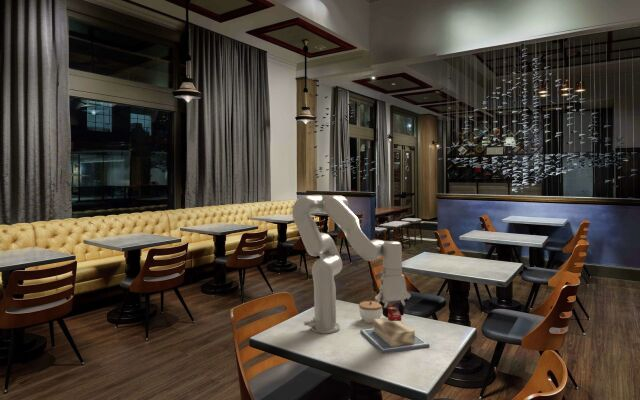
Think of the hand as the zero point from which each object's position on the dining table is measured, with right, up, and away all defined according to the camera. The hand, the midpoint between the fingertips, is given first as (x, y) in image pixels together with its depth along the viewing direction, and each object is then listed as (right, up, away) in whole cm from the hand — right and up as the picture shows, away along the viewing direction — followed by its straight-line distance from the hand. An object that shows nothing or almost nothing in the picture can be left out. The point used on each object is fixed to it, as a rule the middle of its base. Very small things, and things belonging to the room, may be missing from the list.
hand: (393, 315), depth 157 cm
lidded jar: (-6, -10, +23) cm, 25 cm away
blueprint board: (0, -10, 0) cm, 10 cm away
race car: (0, -1, 0) cm, 1 cm away
